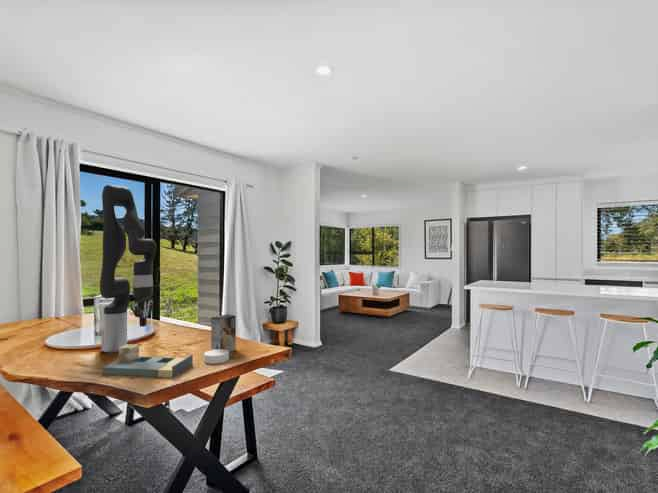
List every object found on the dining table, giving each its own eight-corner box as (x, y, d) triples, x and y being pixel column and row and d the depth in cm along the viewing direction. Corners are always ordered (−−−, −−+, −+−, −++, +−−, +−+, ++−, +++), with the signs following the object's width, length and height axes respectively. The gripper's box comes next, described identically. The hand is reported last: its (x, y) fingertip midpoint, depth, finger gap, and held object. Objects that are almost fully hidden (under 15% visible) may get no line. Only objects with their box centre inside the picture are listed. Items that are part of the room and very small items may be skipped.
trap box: (102, 374, 129) (102, 363, 129) (127, 361, 143) (127, 352, 143) (173, 377, 126) (173, 366, 126) (192, 364, 140) (192, 354, 140)
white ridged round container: (218, 355, 154) (218, 347, 154) (233, 359, 148) (233, 351, 148) (199, 361, 145) (199, 352, 145) (214, 366, 140) (214, 357, 140)
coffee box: (226, 347, 164) (226, 313, 164) (236, 350, 161) (236, 315, 161) (210, 352, 157) (210, 317, 157) (220, 355, 153) (220, 318, 153)
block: (118, 360, 137) (118, 347, 137) (127, 356, 142) (127, 344, 142) (130, 361, 137) (130, 348, 137) (138, 357, 142) (138, 344, 142)
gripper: (144, 284, 155) (144, 322, 155) (124, 287, 142) (124, 329, 142) (160, 284, 154) (160, 323, 154) (141, 287, 141) (141, 329, 141)
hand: (143, 326), depth 148 cm, fingers closed
